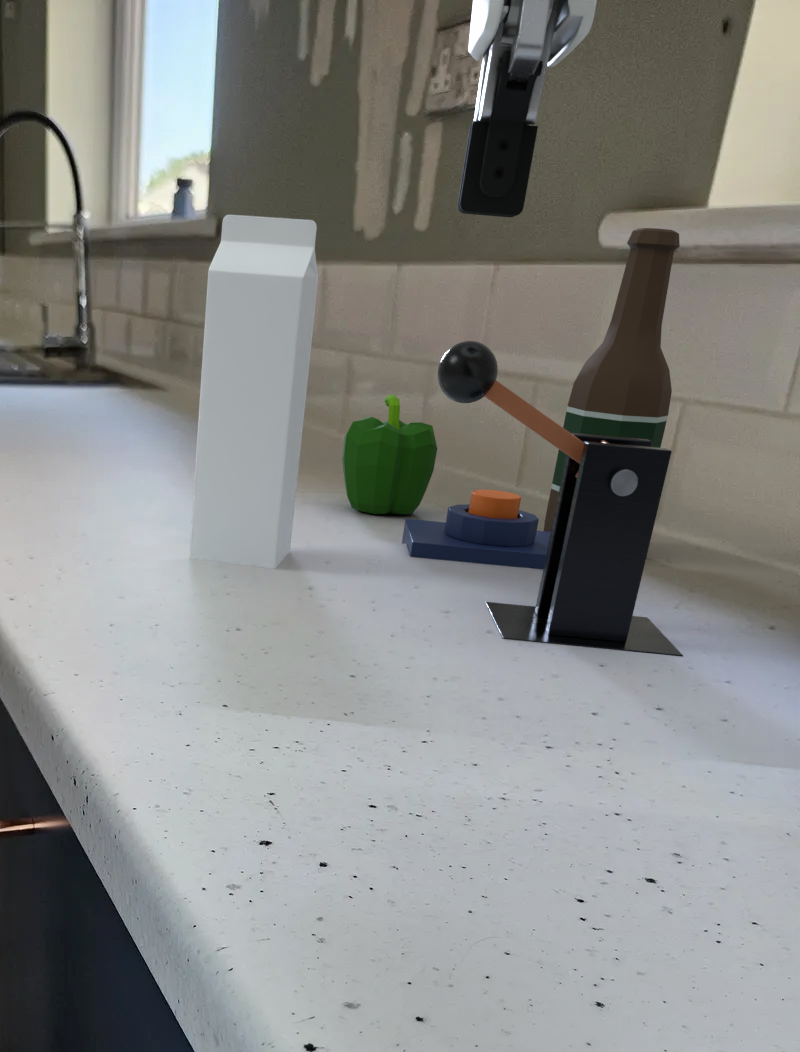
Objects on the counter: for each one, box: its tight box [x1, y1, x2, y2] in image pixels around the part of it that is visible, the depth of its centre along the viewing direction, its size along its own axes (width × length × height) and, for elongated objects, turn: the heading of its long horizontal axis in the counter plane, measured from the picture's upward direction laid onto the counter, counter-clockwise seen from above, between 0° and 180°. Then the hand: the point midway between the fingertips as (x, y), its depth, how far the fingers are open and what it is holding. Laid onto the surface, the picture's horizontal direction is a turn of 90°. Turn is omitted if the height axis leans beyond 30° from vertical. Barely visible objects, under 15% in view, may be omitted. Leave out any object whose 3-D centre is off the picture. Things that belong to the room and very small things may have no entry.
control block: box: [401, 503, 551, 570], centre depth 85 cm, size 12×9×4 cm
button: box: [468, 489, 522, 519], centre depth 84 cm, size 4×4×2 cm
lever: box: [437, 340, 608, 478], centre depth 62 cm, size 13×3×3 cm, turn 83°
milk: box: [188, 214, 319, 570], centre depth 74 cm, size 6×6×22 cm
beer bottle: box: [543, 227, 681, 532], centre depth 90 cm, size 8×8×24 cm
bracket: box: [485, 433, 684, 658], centre depth 65 cm, size 10×8×12 cm
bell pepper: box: [341, 394, 438, 516], centre depth 101 cm, size 8×8×10 cm
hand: (488, 213), depth 58 cm, fingers closed
